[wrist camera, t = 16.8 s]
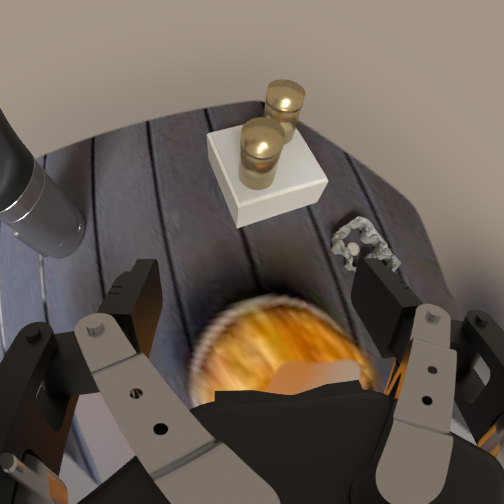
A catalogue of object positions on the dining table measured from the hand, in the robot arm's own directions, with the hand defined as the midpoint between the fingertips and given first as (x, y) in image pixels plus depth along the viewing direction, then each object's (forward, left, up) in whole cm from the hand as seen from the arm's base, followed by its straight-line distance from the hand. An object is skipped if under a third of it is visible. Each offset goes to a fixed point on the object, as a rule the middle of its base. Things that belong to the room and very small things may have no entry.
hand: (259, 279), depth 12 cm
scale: (+13, +22, -31) cm, 40 cm away
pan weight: (+16, +25, -23) cm, 38 cm away
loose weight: (+10, +19, -23) cm, 31 cm away
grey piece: (+22, +4, -31) cm, 38 cm away
